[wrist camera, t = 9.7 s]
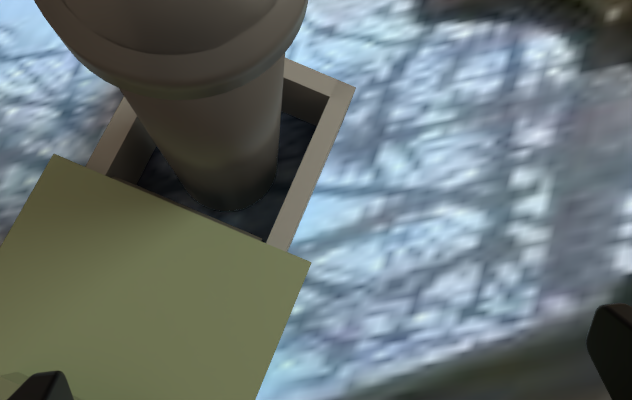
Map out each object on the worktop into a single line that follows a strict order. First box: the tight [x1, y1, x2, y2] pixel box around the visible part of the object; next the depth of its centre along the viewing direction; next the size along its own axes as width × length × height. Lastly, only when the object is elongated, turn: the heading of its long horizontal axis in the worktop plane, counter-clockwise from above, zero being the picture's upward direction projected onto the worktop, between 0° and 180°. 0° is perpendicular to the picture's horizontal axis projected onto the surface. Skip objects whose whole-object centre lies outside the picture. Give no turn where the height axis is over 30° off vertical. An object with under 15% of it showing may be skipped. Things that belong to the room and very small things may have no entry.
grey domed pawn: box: [34, 0, 308, 212], centre depth 16 cm, size 5×5×14 cm
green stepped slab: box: [0, 58, 356, 400], centre depth 19 cm, size 23×10×5 cm, turn 158°
